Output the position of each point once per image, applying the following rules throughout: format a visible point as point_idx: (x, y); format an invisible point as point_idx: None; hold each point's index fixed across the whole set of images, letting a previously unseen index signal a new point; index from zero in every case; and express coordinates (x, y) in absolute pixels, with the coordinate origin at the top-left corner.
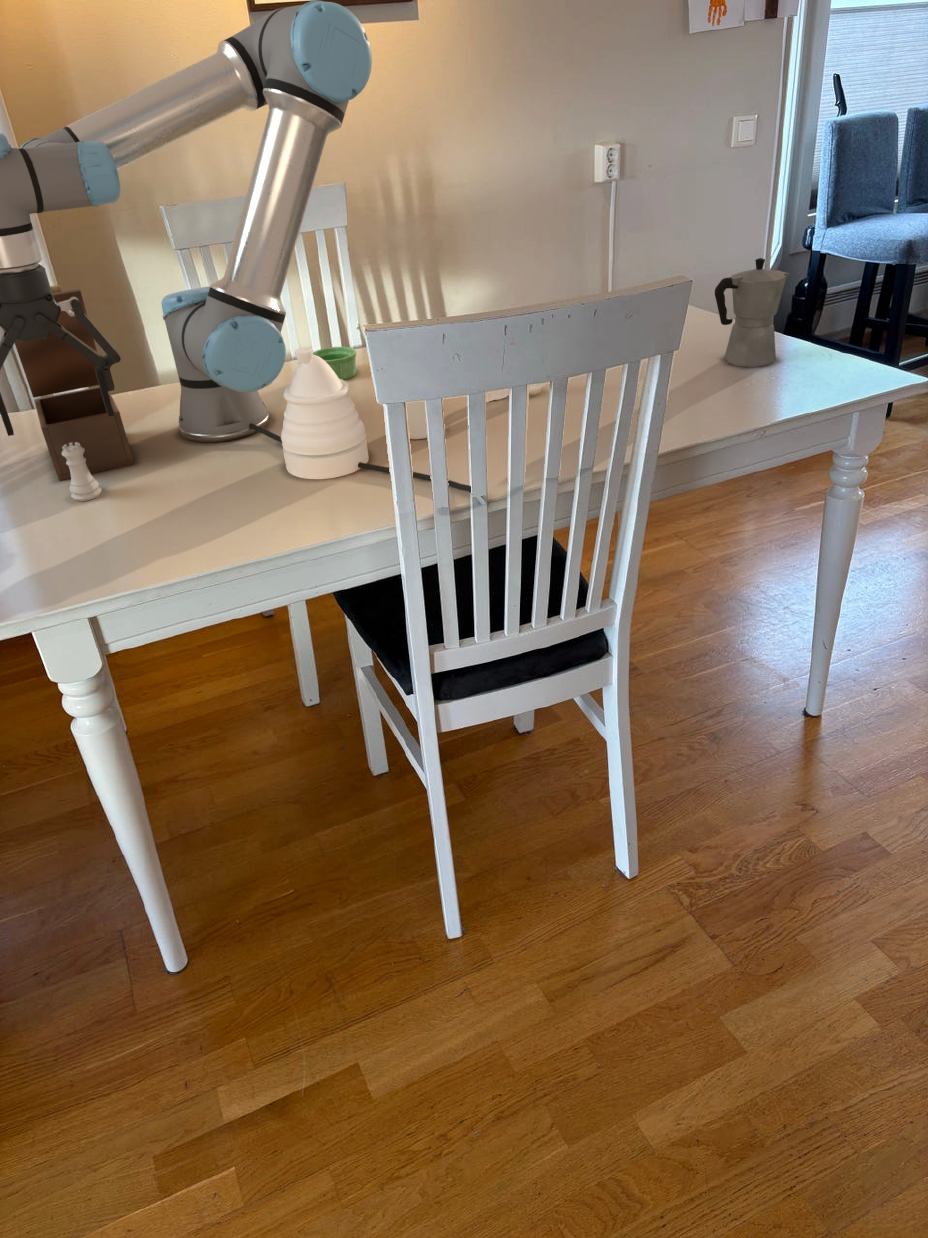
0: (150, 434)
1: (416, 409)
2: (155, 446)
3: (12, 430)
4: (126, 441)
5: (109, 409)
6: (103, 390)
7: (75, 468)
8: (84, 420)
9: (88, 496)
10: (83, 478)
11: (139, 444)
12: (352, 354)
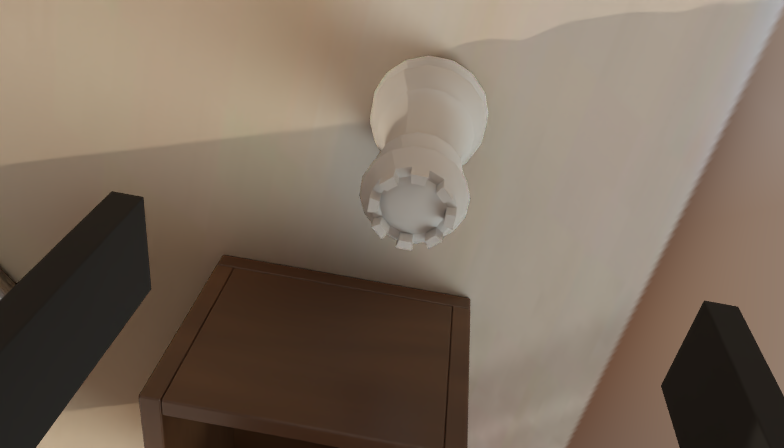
0: None
1: None
2: (140, 331)
3: (708, 324)
4: (196, 307)
5: (106, 214)
6: (34, 297)
7: (437, 134)
8: (290, 416)
9: (434, 60)
10: (422, 106)
11: None
12: None
